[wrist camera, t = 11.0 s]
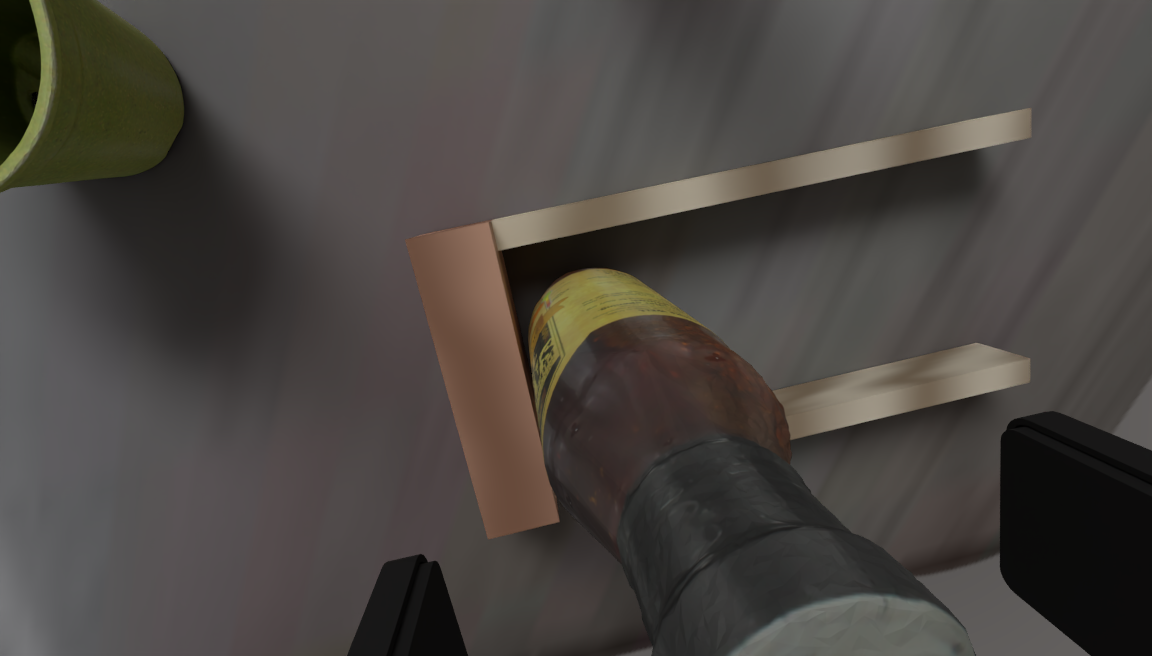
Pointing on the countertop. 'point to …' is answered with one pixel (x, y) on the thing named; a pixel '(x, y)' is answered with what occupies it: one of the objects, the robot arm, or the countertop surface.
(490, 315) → the guide track
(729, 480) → the sauce bottle
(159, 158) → the plant pot
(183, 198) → the countertop surface
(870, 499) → the countertop surface
